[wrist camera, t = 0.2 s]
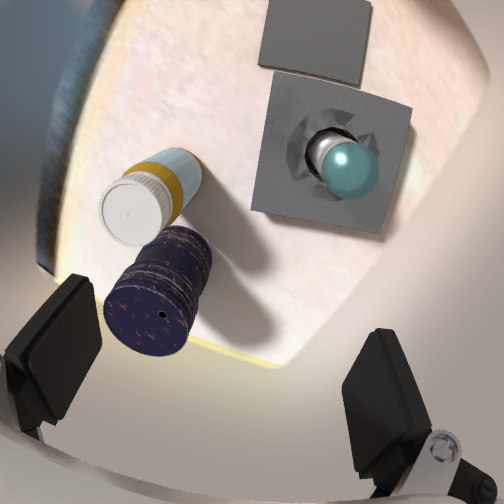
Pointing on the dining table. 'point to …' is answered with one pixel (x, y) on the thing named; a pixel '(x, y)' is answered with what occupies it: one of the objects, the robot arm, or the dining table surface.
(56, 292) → the robot arm
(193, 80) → the dining table surface
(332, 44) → the mat
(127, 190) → the bottle
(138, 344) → the storage jar
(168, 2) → the dining table surface
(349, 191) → the plug
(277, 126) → the housing
